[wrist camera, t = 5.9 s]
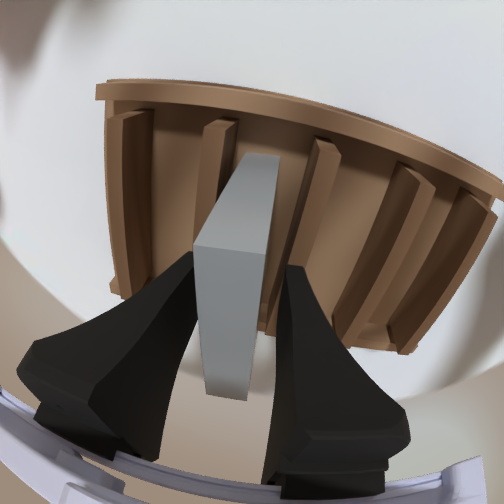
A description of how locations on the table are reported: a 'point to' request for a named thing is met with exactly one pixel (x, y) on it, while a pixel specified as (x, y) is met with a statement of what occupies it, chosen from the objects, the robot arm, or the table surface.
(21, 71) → the table surface
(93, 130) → the table surface
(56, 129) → the table surface
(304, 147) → the dish rack
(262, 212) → the grey upright slab
